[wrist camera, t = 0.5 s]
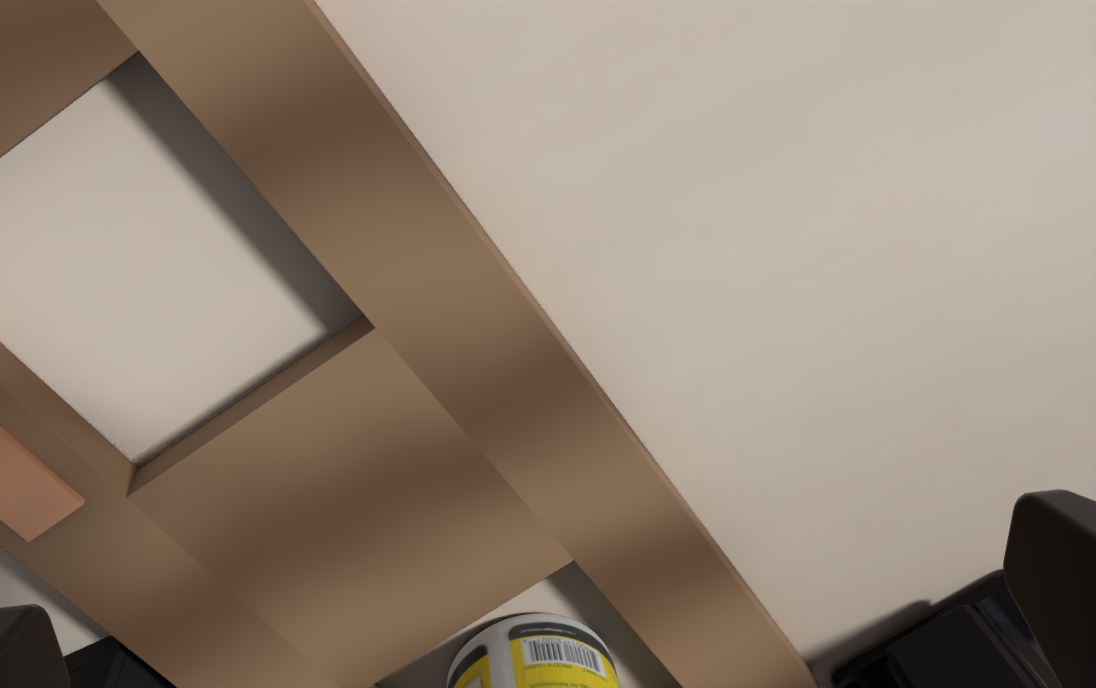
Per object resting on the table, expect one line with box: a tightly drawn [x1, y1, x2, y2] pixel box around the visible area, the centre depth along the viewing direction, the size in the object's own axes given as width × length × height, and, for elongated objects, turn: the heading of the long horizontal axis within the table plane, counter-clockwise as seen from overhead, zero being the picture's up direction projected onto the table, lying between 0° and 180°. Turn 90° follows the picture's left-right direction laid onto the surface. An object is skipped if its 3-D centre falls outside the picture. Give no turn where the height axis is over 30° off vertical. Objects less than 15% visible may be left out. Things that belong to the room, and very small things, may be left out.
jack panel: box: [0, 0, 820, 688], centre depth 23 cm, size 26×13×1 cm, turn 34°
